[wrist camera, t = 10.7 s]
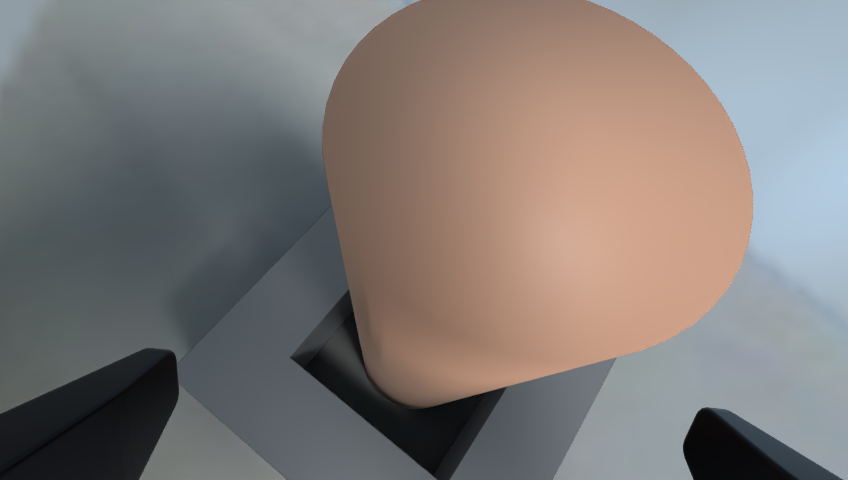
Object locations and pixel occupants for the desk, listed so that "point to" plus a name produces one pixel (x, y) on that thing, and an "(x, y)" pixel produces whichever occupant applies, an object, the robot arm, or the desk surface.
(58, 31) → the desk surface
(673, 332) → the peg
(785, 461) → the robot arm
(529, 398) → the socket block
